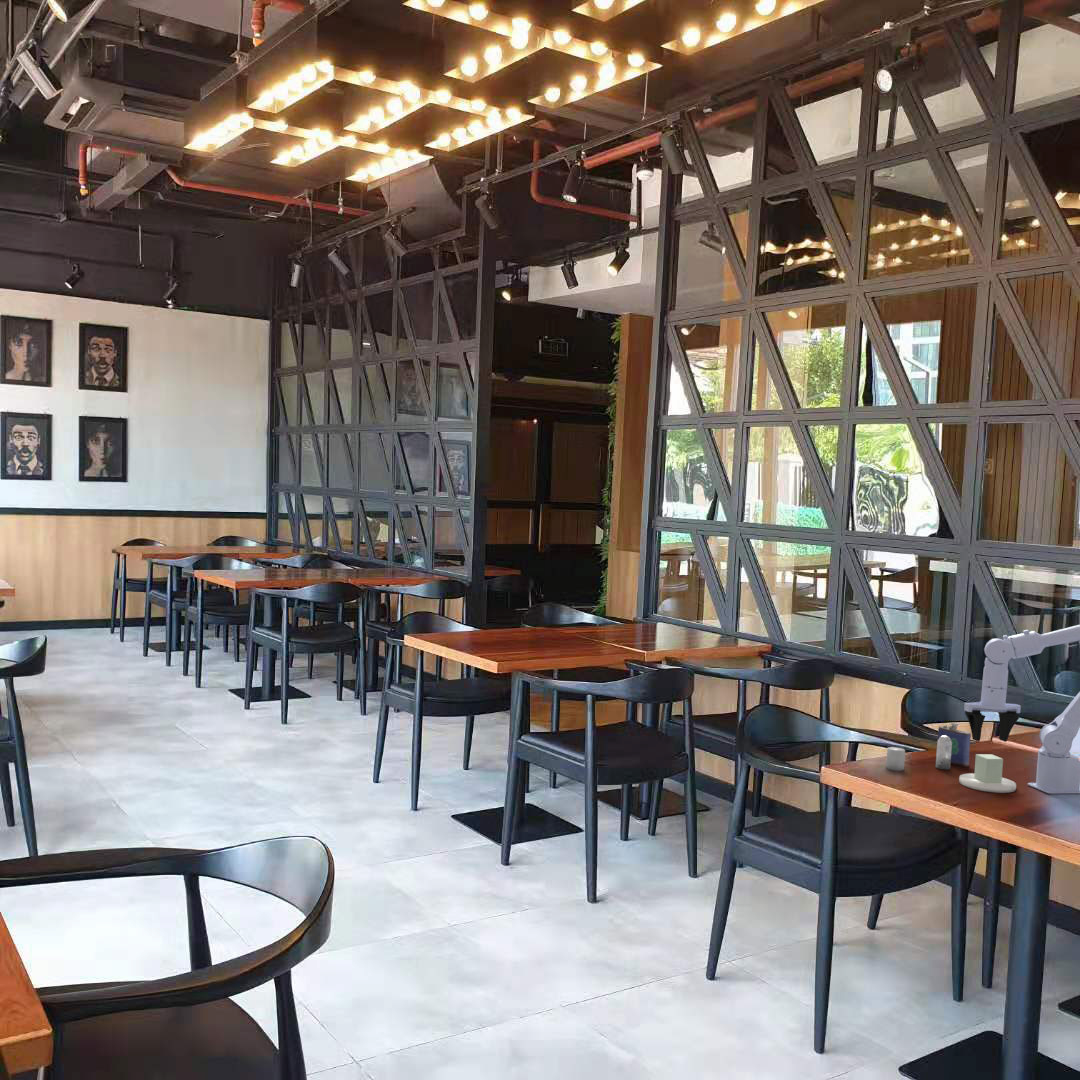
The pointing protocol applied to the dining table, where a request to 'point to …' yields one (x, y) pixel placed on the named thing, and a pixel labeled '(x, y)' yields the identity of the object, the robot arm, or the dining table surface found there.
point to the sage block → (988, 768)
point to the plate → (987, 784)
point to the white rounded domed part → (895, 758)
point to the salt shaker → (943, 753)
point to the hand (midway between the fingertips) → (989, 740)
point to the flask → (957, 743)
